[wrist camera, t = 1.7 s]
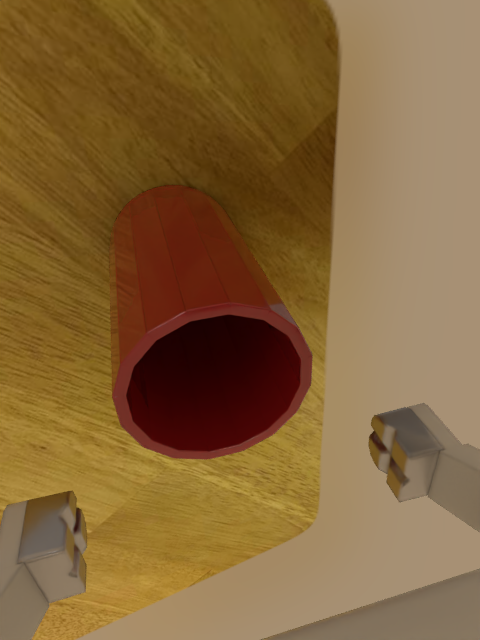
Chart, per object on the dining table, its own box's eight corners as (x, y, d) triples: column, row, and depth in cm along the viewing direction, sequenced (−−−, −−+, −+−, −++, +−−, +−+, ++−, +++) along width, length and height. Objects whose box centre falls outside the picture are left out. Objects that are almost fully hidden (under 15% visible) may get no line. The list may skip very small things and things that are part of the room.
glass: (96, 194, 21) (90, 327, 12) (228, 176, 22) (315, 287, 13) (124, 308, 24) (135, 477, 15) (236, 288, 25) (309, 435, 16)
